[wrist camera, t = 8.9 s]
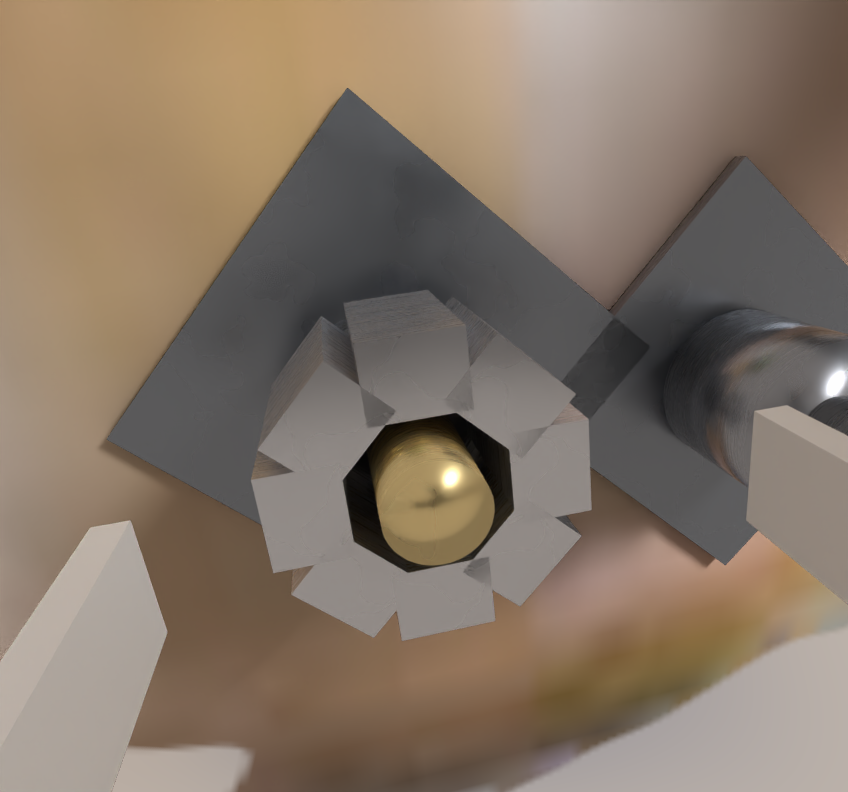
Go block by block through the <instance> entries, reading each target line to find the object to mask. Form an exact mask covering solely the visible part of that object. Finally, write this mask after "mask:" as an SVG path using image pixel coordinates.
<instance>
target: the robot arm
mask: <svg viewBox="0 0 848 792" xmlns="http://www.w3.org/2000/svg"><path fill="white" fill-rule="evenodd" d="M746 521H747V522H749V523H750V524H751V525H752V526H753V527H755V528H756V529H757V530H758V531H759V532H761V533H762V534H763V535H764V536H765V537H767V538H768V539H769V540H770V541H771V542H773V543H774V544H775V545H776V546H778V547H779V548H780V549H781V550H782V551H784V552H785V553H786V554H787V555H788V556H790V557H791V558H792V559H793V560H794V561H796V562H797V563H798V564H799V565H801V566H802V567H803V568H804V569H805V570H807V571H808V572H809V573H810V574H811V575H813V576H814V577H815V578H816V579H817V580H819V581H820V582H821V583H822V584H823V585H825V586H826V587H827V588H828V589H830V590H831V591H832V592H833V593H834V594H836V595H837V596H838V597H839V598H840V599H842V600H843V601H844V602H845V603H846V604H848V436H847V435H845V434H843V433H841V432H839V431H837V430H835V429H833V428H831V427H829V426H827V425H825V424H823V423H821V422H819V421H817V420H815V419H813V418H811V417H809V416H807V415H805V414H803V413H801V412H799V411H798V410H796V409H794V408H792V407H790V406H788V405H785V406H780V407H774V408H768V409H763V410H757V411H754V420H753V433H752V447H751V461H750V475H749V488H748V502H747V516H746ZM167 633H168V632H167V629H166V626H165V623H164V620H163V617H162V614H161V611H160V608H159V605H158V602H157V599H156V596H155V592H154V589H153V586H152V583H151V580H150V577H149V574H148V571H147V568H146V565H145V562H144V559H143V556H142V553H141V550H140V547H139V544H138V541H137V538H136V535H135V532H134V529H133V526H132V523H131V520H130V521H124V522H118V523H113V524H107V525H101V526H95V527H90V529H89V530H88V532H87V533H86V535H85V536H84V538H83V539H82V540H81V542H80V543H79V545H78V546H77V548H76V549H75V551H74V552H73V554H72V555H71V557H70V558H69V560H68V561H67V563H66V564H65V566H64V567H63V569H62V570H61V572H60V573H59V575H58V576H57V578H56V579H55V581H54V582H53V584H52V585H51V586H50V588H49V589H48V591H47V592H46V594H45V595H44V597H43V598H42V600H41V601H40V603H39V604H38V606H37V607H36V609H35V610H34V612H33V613H32V615H31V616H30V618H29V619H28V621H27V622H26V624H25V625H24V627H23V628H22V629H21V631H20V632H19V634H18V635H17V637H16V638H15V640H14V641H13V643H12V644H11V646H10V647H9V649H8V650H7V652H6V653H5V655H4V656H3V658H2V659H1V661H0V792H112V789H113V787H114V783H115V781H116V778H117V775H118V772H119V769H120V767H121V763H122V761H123V758H124V755H125V752H126V750H127V747H128V744H129V741H130V738H131V735H132V732H133V730H134V727H135V724H136V721H137V718H138V715H139V712H140V710H141V707H142V704H143V701H144V698H145V695H146V693H147V690H148V687H149V684H150V681H151V678H152V675H153V673H154V670H155V667H156V664H157V661H158V658H159V655H160V653H161V650H162V647H163V644H164V641H165V638H166V635H167Z"/></svg>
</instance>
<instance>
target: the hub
mask: <svg viewBox="0 0 848 792" xmlns="http://www.w3.org/2000/svg"><path fill="white" fill-rule="evenodd" d="M422 290H428V291H430V292H431V293H432V294H433V295H434V296H435V297H436V298H437V299H438V300H439V301H440V302H441V303H442V304H444V305H445V304H446V302H447V301H448V300H449V299H450V297H451V296H452V297H454V298H455V299H456V300H458V301H459V302H460V303H461V304H463V305H464V306H465V307H467V308H468V309H469V310H470V311H472V312H473V313H474V314H476V315H477V316H478V317H479V318H481V319H482V320H483V321H485V322H486V323H487V324H488V325H490V326H491V327H492V328H494V329H495V330H496V331H497V332H499V333H500V334H501V335H503V336H504V337H505V338H506V339H508V340H509V341H510V342H512V343H513V344H514V345H515V346H517V347H518V348H519V349H520V350H522V351H523V352H524V353H525V354H527V355H528V356H529V357H530V358H532V359H533V360H534V361H535V362H537V363H538V364H539V365H540V366H542V367H543V368H544V369H545V370H547V371H548V372H549V373H550V374H552V375H553V376H554V377H555V378H557V379H558V380H559V381H560V382H562V380H564V381H565V382H564V381H563V382H562V383H563V384H564V385H565V386H567V387H568V388H569V389H570V390H572V389H573V392H574V391H575V393H576V394H577V393H578V392H580V391H582V388H584V389H583V390H585V389H590V390H591V387H592V388H593V386H594V388H593V390H596V388H598V389H600V388H601V389H602V390H601V389H600V390H599V391H601V393H600V392H598V389H597V391H596V392H598V394H596V393H593V392H595V391H593V390H591V391H589V390H585V391H586V392H585V393H586V394H585V396H587V394H588V395H590V394H591V395H590V397H591V396H592V398H593V400H595V401H596V399H594V398H595V396H596V398H598V397H599V396H600V395H602V393H603V392H605V393H606V392H608V391H609V389H607V388H608V387H609V388H610V385H609V384H608V382H606V381H609V380H607V379H606V378H607V377H612V376H611V374H612V373H613V372H614V371H615V372H617V369H615V368H616V367H617V368H618V366H616V365H618V364H616V362H617V360H616V357H617V359H618V358H619V359H618V360H620V359H621V360H620V361H618V362H617V363H619V364H620V362H621V361H622V358H624V355H623V354H624V352H625V351H623V352H622V354H621V351H622V350H623V349H622V348H621V346H622V347H623V348H624V345H622V342H621V341H622V340H624V341H623V342H626V341H625V340H626V338H627V337H630V338H631V336H632V335H631V336H630V334H631V333H630V334H629V332H630V330H629V331H626V332H625V331H623V330H626V329H625V328H627V327H626V326H624V324H623V323H622V324H623V326H624V327H625V328H624V327H623V326H622V324H621V323H619V320H618V319H617V320H618V321H617V320H616V318H615V316H614V315H612V314H611V313H610V312H609V311H608V310H607V309H605V308H604V307H603V306H602V305H601V304H600V303H598V302H597V301H596V300H595V299H594V298H593V297H591V296H590V295H589V294H588V293H587V292H586V291H584V290H583V289H582V288H581V287H580V286H579V285H577V284H576V283H575V282H574V281H573V280H572V279H570V278H569V277H568V276H567V275H566V274H565V273H563V272H562V271H561V270H560V269H559V268H558V267H556V266H555V265H554V264H553V263H552V262H551V261H549V260H548V259H547V258H546V257H545V256H544V255H542V254H541V253H540V252H539V251H538V250H537V249H535V248H534V247H533V246H532V245H531V244H530V243H528V242H527V241H526V240H525V239H524V238H523V237H521V236H520V235H519V234H518V233H517V232H516V231H514V230H513V229H512V228H511V227H510V226H509V225H507V224H506V223H505V222H504V221H503V220H502V219H500V218H499V217H498V216H497V215H496V214H495V213H493V212H492V211H491V210H490V209H489V208H487V207H486V206H485V205H484V204H483V203H482V202H480V201H479V200H478V199H477V198H476V197H475V196H473V195H472V194H471V193H470V192H469V191H468V190H466V189H465V188H464V187H463V186H462V185H461V184H459V183H458V182H457V181H456V180H455V179H454V178H452V177H451V176H450V175H449V174H448V173H447V172H445V171H444V170H443V169H442V168H441V167H440V166H438V165H437V164H436V163H435V162H434V161H433V160H431V159H430V158H429V157H428V156H427V155H426V154H424V153H423V152H422V151H421V150H420V149H419V148H417V147H416V146H415V145H414V144H413V143H412V142H410V141H409V140H408V139H407V138H406V137H405V136H403V135H402V134H401V133H400V132H399V131H398V130H396V129H395V128H394V127H393V126H392V125H391V124H389V123H388V122H387V121H386V120H385V119H384V118H382V117H381V116H380V115H379V114H378V113H377V112H375V111H374V110H373V109H372V108H371V107H370V106H368V105H367V104H366V103H365V102H364V101H363V100H361V99H360V98H359V97H358V96H357V95H356V94H354V93H353V92H352V91H351V90H350V89H349V88H347V89H346V90H345V92H344V93H343V95H342V96H341V98H340V99H339V101H338V102H337V104H336V105H335V106H334V108H333V109H332V111H331V112H330V114H329V115H328V117H327V118H326V120H325V121H324V123H323V124H322V125H321V127H320V128H319V130H318V131H317V133H316V134H315V136H314V137H313V139H312V140H311V142H310V143H309V144H308V146H307V147H306V149H305V150H304V152H303V153H302V155H301V156H300V158H299V159H298V161H297V162H296V163H295V165H294V166H293V168H292V169H291V171H290V172H289V174H288V175H287V177H286V178H285V179H284V181H283V182H282V184H281V185H280V187H279V188H278V190H277V191H276V193H275V194H274V196H273V197H272V198H271V200H270V201H269V203H268V204H267V206H266V207H265V209H264V210H263V212H262V213H261V215H260V216H259V217H258V219H257V220H256V222H255V223H254V225H253V226H252V228H251V229H250V231H249V232H248V233H247V235H246V236H245V238H244V239H243V241H242V242H241V244H240V245H239V247H238V248H237V250H236V251H235V252H234V254H233V255H232V257H231V258H230V260H229V261H228V263H227V264H226V266H225V267H224V269H223V270H222V271H221V273H220V274H219V276H218V277H217V279H216V280H215V282H214V283H213V285H212V286H211V287H210V289H209V290H208V292H207V293H206V295H205V296H204V298H203V299H202V301H201V302H200V304H199V305H198V306H197V308H196V309H195V311H194V312H193V314H192V315H191V317H190V318H189V320H188V321H187V323H186V324H185V325H184V327H183V328H182V330H181V331H180V333H179V334H178V336H177V337H176V339H175V340H174V342H173V343H172V344H171V346H170V347H169V349H168V350H167V352H166V353H165V355H164V356H163V358H162V359H161V360H160V362H159V363H158V365H157V366H156V368H155V369H154V371H153V372H152V374H151V375H150V377H149V378H148V379H147V381H146V382H145V384H144V385H143V387H142V388H141V390H140V391H139V393H138V394H137V396H136V397H135V398H134V400H133V401H132V403H131V404H130V406H129V407H128V409H127V410H126V412H125V413H124V414H123V416H122V417H121V419H120V420H119V422H118V423H117V425H116V426H115V428H114V429H113V431H112V432H111V433H110V435H109V436H108V438H107V439H106V440H108V441H110V442H112V443H114V444H116V445H117V446H119V447H121V448H123V449H125V450H126V451H128V452H130V453H132V454H134V455H135V456H137V457H139V458H141V459H143V460H145V461H146V462H148V463H150V464H152V465H154V466H155V467H157V468H159V469H161V470H163V471H164V472H166V473H168V474H170V475H172V476H173V477H175V478H177V479H179V480H181V481H183V482H184V483H186V484H188V485H190V486H192V487H193V488H195V489H197V490H199V491H201V492H202V493H204V494H206V495H208V496H210V497H212V498H213V499H215V500H217V501H219V502H221V503H222V504H224V505H226V506H228V507H230V508H231V509H233V510H235V511H237V512H239V513H241V514H242V515H244V516H246V517H248V518H250V519H251V520H253V521H255V522H257V523H259V524H260V525H262V524H261V520H260V516H259V512H258V507H257V503H256V499H255V495H254V491H253V487H252V483H251V477H252V473H253V468H254V464H255V459H256V455H257V449H258V445H259V440H260V436H261V431H262V427H263V422H264V418H265V413H266V409H267V404H268V400H269V395H270V391H271V386H272V383H273V381H274V380H275V379H276V377H277V376H278V374H279V373H280V372H281V370H282V369H283V368H284V366H285V365H286V363H287V362H288V361H289V359H290V358H291V357H292V355H293V354H294V352H295V351H296V350H297V348H298V347H299V346H300V344H301V343H302V341H303V340H304V339H305V337H306V336H307V335H308V333H309V332H310V330H311V329H312V328H313V326H314V325H315V324H316V322H317V321H318V319H319V318H320V317H321V316H322V317H324V318H325V319H327V320H328V321H329V322H331V323H332V324H334V325H335V326H337V327H338V328H339V329H341V330H342V331H344V332H345V333H346V334H348V335H349V333H348V327H347V321H346V315H345V309H344V303H343V302H349V301H356V300H363V299H369V298H376V297H382V296H389V295H396V294H402V293H409V292H416V291H422ZM614 319H615V321H616V322H615V321H614ZM611 321H613V323H611V324H612V325H611V324H610V322H611ZM614 322H615V323H617V322H618V323H619V324H618V323H617V324H618V325H619V326H618V327H617V325H616V324H615V323H614ZM608 324H609V326H608ZM610 325H611V326H612V327H611V326H610ZM613 325H614V326H615V327H617V329H618V328H619V327H621V326H622V328H623V329H622V331H621V332H620V333H621V334H623V332H625V333H627V334H628V336H626V335H627V334H626V335H624V334H623V335H624V338H623V337H622V336H621V335H620V337H619V340H618V341H617V340H616V341H615V342H614V340H613V338H614V337H615V339H616V338H617V339H618V337H617V336H616V335H618V334H620V333H618V332H619V331H620V330H621V328H620V329H619V330H617V329H616V328H615V329H616V330H617V331H618V332H617V331H616V330H615V329H614V326H613ZM607 326H608V327H607ZM610 327H611V328H610ZM605 328H607V329H608V330H605ZM609 328H610V329H609ZM612 328H613V329H614V330H615V333H616V332H617V333H616V334H614V331H611V329H612ZM628 329H629V328H628ZM628 329H627V330H628ZM603 330H604V331H603ZM609 331H611V332H610V334H611V333H612V336H613V335H614V336H613V338H612V336H610V334H608V332H609ZM603 332H604V334H605V335H604V334H603ZM631 332H632V331H631ZM601 333H602V334H601ZM606 333H607V335H608V336H607V335H606ZM632 334H634V335H633V336H635V333H633V332H632ZM600 335H603V337H604V336H607V337H608V338H609V337H610V339H612V340H613V342H612V344H611V342H610V340H608V338H606V339H607V340H608V342H609V344H610V345H611V346H612V345H613V347H614V349H613V347H612V348H611V346H610V345H609V344H608V342H607V340H606V342H607V344H605V345H607V346H608V347H607V348H606V346H605V347H604V343H605V342H604V341H605V337H604V340H602V341H603V343H601V341H600V344H601V345H600V344H597V343H599V340H601V339H602V338H603V337H602V336H600ZM633 336H632V339H633ZM597 337H598V338H599V339H598V338H597ZM600 337H601V338H600ZM625 337H626V338H625ZM635 337H636V338H638V337H637V336H635ZM620 338H621V339H622V340H621V339H620ZM630 338H627V339H628V342H626V343H624V344H625V345H626V344H627V343H629V340H630ZM638 339H639V338H638ZM638 339H637V341H638V342H640V343H637V342H636V343H637V344H638V345H639V346H638V348H641V347H640V345H642V344H644V346H645V347H646V345H648V344H646V345H645V343H643V342H641V341H643V340H640V339H641V338H640V339H639V340H638ZM595 340H596V342H597V341H598V342H597V343H596V342H595ZM620 340H621V341H620ZM633 341H636V340H635V338H634V339H633ZM619 342H621V343H620V344H621V346H620V345H619V344H618V343H619ZM592 343H595V344H594V346H593V344H592ZM630 343H631V346H632V344H633V342H632V340H630ZM630 343H629V344H630ZM596 344H597V345H596ZM615 344H616V345H617V344H618V345H617V346H618V347H617V348H618V349H619V350H621V351H620V353H617V351H619V350H618V349H617V348H616V347H615V346H614V345H615ZM629 344H628V345H629ZM634 344H635V343H634ZM591 345H592V346H593V347H594V349H593V350H594V351H595V349H596V348H597V347H599V349H598V350H597V349H596V350H597V353H598V355H601V356H600V357H602V356H603V357H602V358H603V359H602V361H601V360H600V358H599V356H597V354H596V353H595V352H596V351H595V352H594V351H593V350H592V349H590V348H593V347H592V346H591ZM595 345H596V346H595ZM598 345H600V346H601V347H600V346H598ZM628 345H626V346H628ZM590 346H591V347H590ZM602 346H603V348H605V349H606V350H605V352H607V351H608V352H607V354H606V353H605V352H604V350H600V349H602ZM619 346H620V348H619ZM626 346H625V348H626V351H628V350H629V349H630V348H629V349H628V347H626ZM629 346H630V345H629ZM631 346H630V347H631ZM633 346H634V345H633ZM633 346H632V347H631V348H633V349H631V351H633V352H634V353H635V354H636V352H637V351H636V350H638V352H639V351H640V352H641V350H642V349H643V347H642V348H641V350H639V349H636V348H637V345H636V346H634V347H633ZM645 347H644V349H643V350H642V353H641V355H640V356H642V355H644V354H643V352H646V350H645ZM648 347H650V346H649V345H648V346H647V347H646V349H648ZM588 348H589V350H590V351H591V352H592V354H593V353H594V354H595V357H596V356H597V357H596V359H598V358H599V360H600V361H601V362H602V363H601V362H600V364H599V365H601V366H599V365H598V364H596V366H595V363H599V361H598V360H596V359H595V358H594V357H593V356H594V354H593V356H592V354H591V352H590V353H588V352H589V351H588V350H587V349H588ZM608 348H609V350H610V348H611V351H612V350H613V351H614V350H615V349H617V350H616V351H615V352H614V353H613V352H612V353H611V352H610V351H609V350H608ZM627 349H628V350H627ZM634 349H636V350H634ZM649 349H650V348H649ZM649 349H648V350H649ZM624 350H625V349H624ZM648 350H647V351H648ZM586 351H587V354H586V353H585V352H586ZM601 351H602V352H601ZM635 351H636V352H635ZM600 352H601V353H603V354H604V355H605V354H606V355H605V357H606V358H608V359H610V357H612V358H613V357H614V356H615V355H616V357H614V358H615V360H614V359H613V360H612V358H611V360H606V358H604V355H602V354H601V353H600ZM609 352H610V353H611V354H613V355H610V353H609ZM633 352H631V355H630V351H629V352H627V353H626V352H625V354H626V355H625V356H627V355H628V353H629V355H630V356H633V357H634V355H633V354H634V353H633ZM640 352H639V353H640ZM599 353H600V354H599ZM616 353H617V354H621V356H620V357H619V355H618V356H617V354H616ZM632 353H633V354H632ZM584 354H585V355H586V356H584ZM588 354H591V356H592V357H591V356H590V355H588ZM608 354H609V355H608ZM614 354H615V355H614ZM607 355H608V356H607ZM629 355H628V356H629ZM637 355H638V353H637V354H636V357H634V359H635V358H637V357H639V355H638V356H637ZM588 356H590V358H589V359H590V360H591V361H590V360H589V359H588ZM609 356H610V357H609ZM628 356H627V357H628ZM630 356H629V359H630V361H632V360H633V361H632V362H634V361H635V360H636V359H635V360H634V359H632V357H630ZM584 357H585V358H587V359H588V360H585V358H584ZM621 357H622V358H621ZM642 357H643V356H642ZM580 358H582V359H583V358H584V359H583V361H584V362H585V364H586V363H587V361H588V362H589V361H590V362H592V363H594V362H593V361H595V363H594V365H593V366H595V367H594V368H593V366H591V365H592V363H591V365H590V364H588V363H587V364H588V366H589V365H590V366H591V368H590V367H589V368H588V367H587V364H586V366H585V364H584V363H582V361H581V360H582V359H580ZM591 358H593V359H591ZM639 358H640V357H639ZM594 359H595V360H594ZM624 359H626V358H624ZM624 359H623V361H622V362H624ZM629 359H626V360H625V361H627V362H624V364H625V366H626V367H627V363H629V362H630V361H629V362H628V360H629ZM631 359H632V360H631ZM640 359H641V358H640ZM579 360H580V363H578V361H579ZM592 360H593V361H592ZM596 361H597V362H596ZM604 361H605V362H607V363H609V362H611V364H612V365H611V364H610V363H609V364H608V365H605V363H604V364H603V362H604ZM613 361H615V363H614V362H613ZM590 362H589V363H590ZM632 362H631V363H632ZM636 362H638V358H637V360H636ZM631 363H629V364H630V367H629V368H631V365H632V364H631ZM575 364H576V365H577V366H578V365H579V364H582V365H584V368H585V367H586V369H587V368H588V371H587V370H586V369H585V370H586V371H587V372H589V371H590V372H589V373H591V372H592V371H593V370H594V371H595V369H597V368H599V367H602V368H601V369H603V371H604V368H605V367H607V368H608V370H607V372H609V371H611V369H610V366H611V368H612V370H613V372H612V373H611V372H610V373H609V375H608V374H606V375H604V374H605V372H606V369H607V368H606V369H605V372H604V373H603V371H601V370H600V368H599V369H597V370H599V371H598V372H599V373H600V374H601V376H602V374H603V376H604V377H603V376H602V377H601V376H599V373H598V372H597V370H596V371H595V373H596V372H597V373H596V375H594V374H595V373H594V372H593V373H594V374H593V373H591V375H592V374H593V375H594V376H593V377H595V378H594V380H593V378H592V377H591V375H590V376H589V373H587V372H586V371H585V370H584V368H583V367H582V365H579V367H580V370H581V371H580V370H579V367H578V368H577V369H578V370H577V369H576V366H575ZM613 364H614V365H615V366H616V367H614V366H613ZM621 364H622V363H621ZM624 364H623V365H624ZM629 364H628V365H629ZM634 364H637V363H635V362H634ZM602 365H603V366H604V365H605V367H604V368H603V366H602ZM609 365H610V366H609ZM597 366H598V367H597ZM619 366H620V367H619V369H618V370H619V371H618V372H621V374H619V373H618V372H617V373H618V374H617V373H616V374H617V376H618V377H617V376H616V375H615V376H616V377H617V378H618V379H619V381H621V380H622V379H624V378H623V377H624V376H625V377H626V375H624V376H623V374H626V373H628V371H629V370H630V369H628V368H627V369H628V371H627V372H626V370H625V368H626V367H625V366H624V367H623V366H622V365H619ZM634 366H635V365H634ZM634 366H633V367H634ZM573 367H575V368H574V369H575V371H574V369H573ZM633 367H632V368H633ZM581 368H582V369H581ZM613 368H614V369H613ZM620 368H621V370H620ZM622 368H623V369H624V371H625V372H626V373H622V372H623V371H622ZM632 368H631V370H632ZM571 369H573V372H575V373H574V374H576V373H577V374H576V375H577V376H576V378H575V376H574V375H573V376H574V377H573V378H574V379H572V378H571V376H572V374H573V373H572V372H571V371H572V370H571ZM570 370H571V371H570ZM576 370H577V371H580V372H582V371H584V372H585V373H586V375H584V374H585V373H584V372H583V373H584V374H583V373H582V375H580V374H581V373H580V372H576ZM591 370H592V371H591ZM631 370H630V371H631ZM630 371H629V373H630ZM601 372H602V373H601ZM615 372H614V373H615ZM568 373H569V374H570V376H569V375H568ZM571 373H572V374H571ZM579 373H580V374H579ZM629 373H628V374H629ZM578 374H579V375H578ZM587 374H588V375H587ZM628 374H627V375H628ZM597 375H598V376H599V377H596V376H597ZM612 375H613V376H614V374H612ZM619 375H620V376H619ZM621 375H622V377H621ZM567 376H568V377H569V378H567V379H568V380H567V379H566V377H567ZM579 376H581V377H582V378H581V377H580V380H582V379H583V380H582V381H580V380H578V379H579ZM583 376H584V377H583ZM586 376H587V377H589V378H590V379H591V381H592V383H590V380H588V381H587V383H586V380H587V377H586ZM605 376H607V377H605ZM600 377H601V378H600ZM564 378H565V379H564ZM589 378H588V379H589ZM598 378H599V379H600V380H599V379H598ZM602 378H603V381H604V383H605V384H606V385H607V386H608V387H606V386H604V385H603V384H604V383H603V381H601V380H602ZM604 378H605V379H606V380H605V379H604ZM617 378H616V379H617ZM621 378H622V379H621ZM569 379H571V380H572V382H574V383H575V384H576V382H578V383H577V384H579V385H580V384H581V385H580V386H582V388H581V390H580V391H577V392H576V390H579V389H580V387H579V386H577V384H576V387H577V388H576V387H573V385H574V386H575V384H572V382H571V380H570V382H571V383H570V382H569ZM575 379H576V380H577V381H576V380H575ZM584 379H586V380H585V381H584ZM595 379H596V380H597V379H598V380H597V382H596V380H595ZM609 379H610V378H609ZM612 379H613V377H612ZM612 379H611V381H612V382H613V383H612V382H611V381H609V383H611V384H613V385H612V387H613V389H614V388H615V389H616V388H617V387H618V386H619V384H620V383H621V382H620V383H618V385H617V382H618V379H617V380H616V379H615V377H614V379H615V380H616V381H617V382H616V381H613V380H614V379H613V380H612ZM620 379H621V380H620ZM573 380H574V381H573ZM566 381H567V384H568V382H569V384H571V385H572V387H573V388H572V387H571V385H570V386H569V384H568V385H567V384H566ZM593 381H594V382H595V383H596V384H594V385H593V386H592V384H593ZM598 381H600V382H601V383H600V382H599V383H598ZM580 382H582V383H586V384H584V385H585V386H586V385H587V386H588V382H589V383H590V384H591V387H590V384H589V386H588V387H589V388H585V386H584V385H582V383H580ZM614 382H616V385H617V387H616V386H615V385H614V384H615V383H614ZM602 383H603V384H602ZM597 384H598V385H601V386H604V387H606V388H605V391H604V388H602V387H600V386H598V385H597ZM587 386H586V387H587ZM570 387H571V388H570ZM578 387H579V388H578ZM574 389H575V390H574ZM615 389H614V390H615ZM606 390H607V391H606ZM611 390H612V388H611ZM614 390H612V392H614ZM582 392H583V395H582V396H580V395H581V394H582ZM582 392H581V393H578V395H577V396H578V397H576V395H575V396H574V397H575V398H576V399H578V400H577V401H579V400H580V401H579V402H581V406H580V404H579V402H577V401H576V399H575V398H574V397H573V398H572V399H573V401H576V402H573V401H570V403H571V404H572V405H573V406H574V405H575V406H576V404H577V403H578V405H579V406H580V408H579V406H578V405H577V406H576V408H577V407H578V409H579V410H580V409H582V410H583V411H584V413H585V412H586V413H585V414H586V415H588V414H587V412H588V410H589V412H588V413H589V414H590V415H591V416H590V415H589V416H585V415H584V413H582V414H583V415H584V416H585V417H588V419H589V418H590V419H591V418H592V416H593V415H594V412H595V411H596V410H594V409H596V407H598V406H599V408H600V406H602V405H603V404H602V403H601V401H603V399H604V400H605V399H607V398H608V395H611V394H612V392H611V393H610V391H609V393H608V395H607V398H605V397H606V394H605V393H604V395H605V396H604V395H602V398H603V399H602V398H600V397H599V398H598V399H599V401H597V404H598V406H597V405H596V402H594V403H592V402H593V400H591V399H592V398H591V399H590V397H588V396H587V397H585V396H584V391H582ZM587 392H589V393H590V392H592V393H593V394H592V393H590V394H589V393H587ZM593 395H595V396H593ZM598 395H599V396H598ZM583 396H584V397H583ZM597 396H598V397H597ZM603 396H604V397H603ZM581 397H582V398H583V399H585V398H587V400H589V399H590V401H589V402H590V403H591V404H592V406H593V407H594V406H595V408H593V407H592V406H591V404H590V403H589V402H588V401H587V400H586V399H585V401H583V400H581V399H582V398H581ZM574 399H575V400H574ZM600 400H601V401H600ZM591 401H592V402H591ZM605 401H606V400H605ZM605 401H604V402H605ZM583 402H585V403H586V404H587V403H588V405H586V404H585V403H583ZM599 402H600V403H601V404H602V405H599V404H600V403H599ZM574 403H575V404H574ZM589 404H590V406H591V407H590V406H589ZM582 405H585V406H583V407H586V406H588V407H589V408H590V409H589V408H587V407H586V409H588V410H587V411H586V409H585V408H584V409H583V407H582ZM575 406H574V407H575ZM581 407H582V408H581ZM592 408H593V409H592ZM599 408H597V410H598V409H599ZM591 410H592V411H593V410H594V411H593V412H592V411H591ZM580 412H581V410H580ZM590 412H591V413H590ZM596 412H597V411H596ZM596 412H595V413H596ZM590 419H589V420H590ZM467 435H468V429H467V420H466V419H465V418H463V417H462V416H460V415H459V414H458V413H452V414H446V415H440V416H435V417H429V418H423V419H417V420H412V421H406V422H400V423H395V424H389V425H385V426H384V427H383V429H382V430H381V431H380V433H379V434H378V435H377V436H376V438H375V439H374V440H373V442H372V443H371V444H370V446H369V447H368V448H367V449H366V451H365V452H364V453H363V455H362V456H361V457H360V458H359V460H358V461H357V462H356V464H357V465H359V466H360V467H362V468H363V469H365V470H367V471H368V472H370V473H371V477H372V482H373V487H374V492H375V498H376V503H377V508H378V514H379V519H380V524H381V529H382V533H383V535H384V538H385V540H386V541H387V543H388V545H389V546H390V547H391V548H392V549H393V550H394V551H395V552H396V553H397V554H398V555H400V556H401V557H403V558H404V559H406V560H408V561H411V562H414V563H417V564H422V565H442V564H447V563H451V562H454V561H456V560H459V559H461V558H463V557H465V556H466V555H468V554H469V553H471V552H472V551H473V550H475V549H476V548H477V547H478V546H479V545H480V544H481V543H482V541H483V540H484V539H485V537H486V536H487V534H488V532H489V530H490V528H491V526H492V523H493V519H494V512H495V506H494V499H493V495H492V492H491V490H490V488H489V486H488V484H487V482H486V481H485V479H484V477H483V475H482V474H481V472H480V470H479V468H478V467H477V465H476V463H475V462H474V460H473V458H472V456H471V455H470V453H469V451H468V449H467V448H466V446H465V444H464V442H463V440H464V439H465V438H466V437H467Z"/></svg>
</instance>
